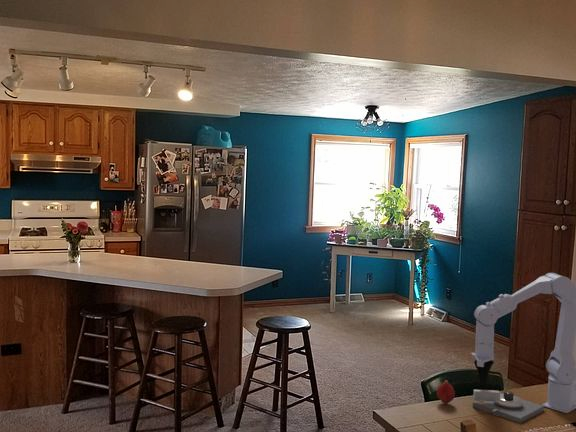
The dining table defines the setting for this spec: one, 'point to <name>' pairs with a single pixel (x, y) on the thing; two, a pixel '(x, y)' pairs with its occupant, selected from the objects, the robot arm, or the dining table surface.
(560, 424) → the dining table surface
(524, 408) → the dial plate
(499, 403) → the dial
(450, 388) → the onion
